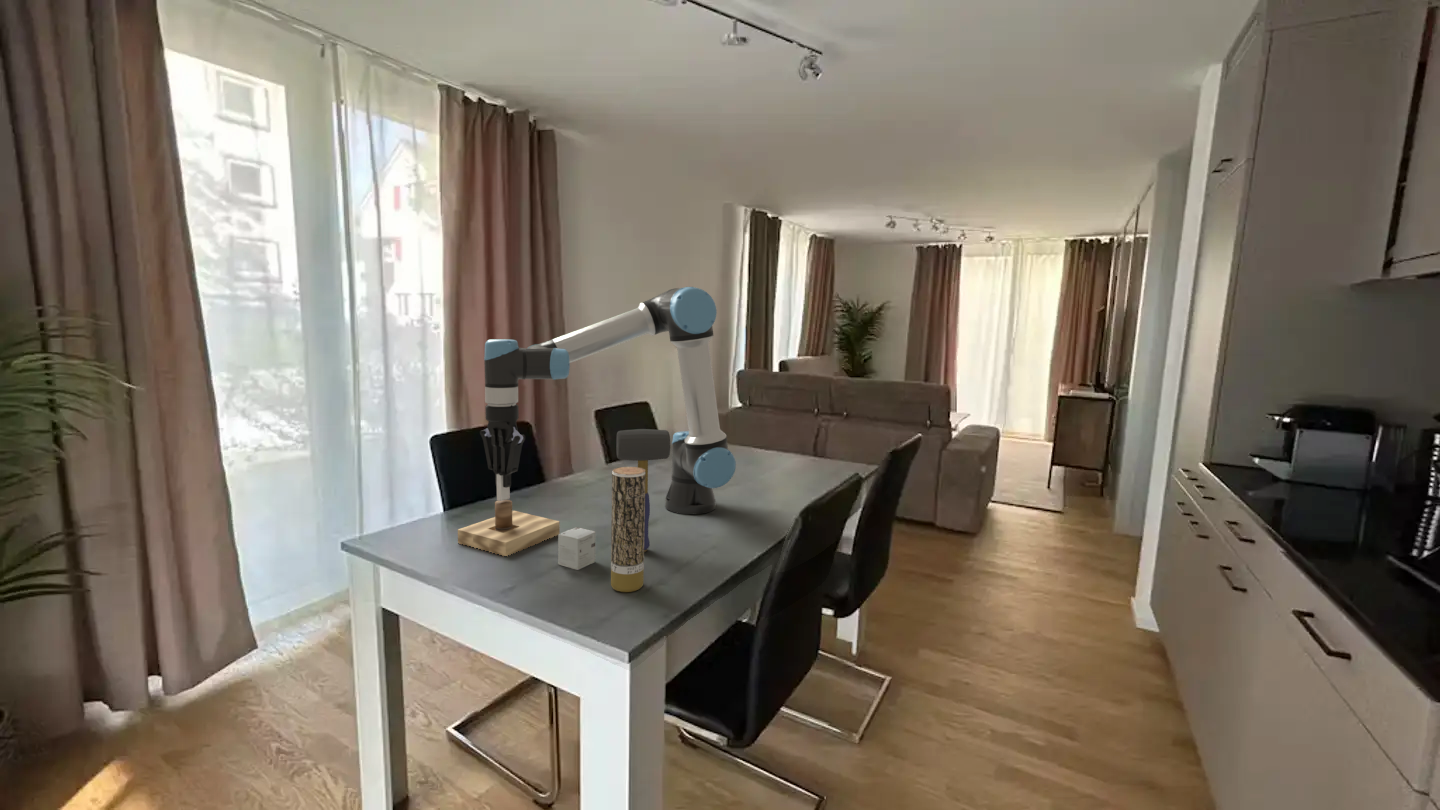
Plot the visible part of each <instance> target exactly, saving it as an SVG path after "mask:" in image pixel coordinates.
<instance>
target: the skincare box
mask: <svg viewBox="0 0 1440 810" xmlns="http://www.w3.org/2000/svg"><path fill="white" fill-rule="evenodd" d="M557 537H558V538H557V543H558V545H557V548H558V549H557V559H558V560H557V561H558V562H557V564H558V565H559V566H562V567H566V568H569V569H572V570H576V571H579V570H581V569H583V568H586V567H587V566H589V565H592V564H594V563H595V562H596V531H594V530H591V529H590V530H589V529H585V528H582V527H579V526H576V527H574V528H571V529H567V530H565V531H563V532H560V534H558V535H557Z"/></svg>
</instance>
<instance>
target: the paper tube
mask: <svg viewBox="0 0 1440 810" xmlns="http://www.w3.org/2000/svg"><path fill="white" fill-rule="evenodd" d="M645 475H646V473H645V469H642V468H638V466H621V467H615V468H613V469H612V471H611V527H610V529H611V532H610V534H611V535H610V536H611V537H610V539H611V540H610V541H611V544H610V545H611V546H610V585H611V586H610V587H612V589H613V590H615V592H619V593H620V592H621V593H633V592H636V591H638V590H640V589H641V588H642V587H643V585H644V572H645V571H644V568H645V552H644V529H645Z"/></svg>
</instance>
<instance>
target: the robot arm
mask: <svg viewBox="0 0 1440 810" xmlns="http://www.w3.org/2000/svg"><path fill="white" fill-rule="evenodd" d="M717 311H718V310H717V306H716V303H715V300H714V299H713V297H712V295H710V294H709V293H708V292H707V291H706V290H704V289H702V288H698V287H694V286H685V287H680V288H679V287H677V288H671V289H668V290H666V291H664V292H662V293H660V294H658V295H656V296H654V297H652V298H649V299H647V300H645V301H641V302H640V303H639V304H638V306H637V308H634V309H631V310H628V311H626V312H623V313H620V314H618V315H615V316H612V317H610V318H606V319H604V320H601V321H598V322H595V323H593V324H590V325H588V326H585V327H581V328H579V329H576V330H574V331H571V332H569V333H566V334H562V335H560V336H558V337H555V338H552V339H550V340H547V341H544V342H541V343H535V344H532V345H530V346H528V347H527V348H525V347H519V343H518V341H517V340H516V339H507V338H506V339H504V338H503V339H500V338H499V339H498V338H497V339H495V338H494V339H493V338H492V339H488V340H486V341H485V343H484V355H483V356H484V358H483V360H484V361H483V363H484V364H483V365H484V385H485V386H484V403H485V404H486V406H485V410H484V411H485V412H484V413H485V420H486V421H487V422H488V423H487V425H486V428H485V429H483V430H480V431H479V435H480V436H481V439H482V441H483V447H484V453H485V457H486V462H487V463H486V464H487V469H488V470H491V471H493V473H494V479H495V480H494V481H495V486H496V501H504V500H510V497H511V493H510V492H511V491H510V488H511V486H512V474H513V473H515V472H518V470H519V466H520V465H519V464H520V459H521V454H522V450H523V449H522V448H523V443H524V442H525V441H526V435H525V434H520V432H519V431H518V426H517V421H518V420H519V414H520V413H519V405H518V404H517V403H519V380H553V381H556V380H564V379H567V378H568V377H569V375H570V367H571V365H570V363H573V362H577V361H578V360H582V359H584V358H588V357H589V356H592V355H594V354H595V355H596V354H598V353H600V352H602V351H603V352H604V351H606V350H607V349H611V348H614V347H616V346H619V345H621V344H624V343H627V342H629V341H632V340H635V339H637V338H639V337H642V336H645V335H650V336H655V335H657V334H661V333H666V332H668V334H669V341H670V343H671V344H672V345H673V346H675V347H676V350H677V351H676V352H677V357H678V358H677V359H678V364H679V372H680V378H681V379H680V380H681V387H682V393H683V400H684V401H683V402H684V408H685V414H686V423H687V429H688V430H687V431H686V430H685V431H677V432H675V433H673V435H672V441H671V446H672V447H671V481H670V485H669V487H668V490H667V493H666V496H665V500H664V501H665V502H664V507H665V509H666V510H668V511H670V512H672V513H677V514H684V515H702V514H707V513H710V512H713V511H714V510H715V509H716V505H717V504H716V503H717V501H716V497H715V494H714V493H715V492H714V489H717V488H721V487H723V486H724V485H726V484H728V483H729V482H730V481H731V479H732V478H733V476H734V475H735V472H736V468H737V467H736V466H737V463H736V462H737V461H736V458H735V456H734V454H733V453H732V451H731V450H729V445H728V438H727V437H728V436H727V434H726V433H725V432H724V431H723V430H722V429H721V427H720V420H719V411H718V403H717V402H718V401H717V396H716V387H715V381H714V374H713V367H712V366H713V365H712V356H711V351H710V342H711V341H712V339H713V338H714V328H713V325H714V324H715V321H716V319H717V314H718V312H717Z"/></svg>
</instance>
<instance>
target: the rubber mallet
mask: <svg viewBox="0 0 1440 810" xmlns="http://www.w3.org/2000/svg"><path fill="white" fill-rule="evenodd" d="M670 435H671V434H670V432H669V430H666V429H655V428H654V429H653V428H652V429H650V428H647V429H646V428H637V429H625V430H618V431H617V432H616V439H615V440H616V442H615V444H616V447H615V448H616V449H615V450H616V458H617V459H618V460H621V461H637V467H638V468H642V469H645V473H646V475H645V529H644V553H646V552H648V549H649V548H650V545H651V544H650V538H649V522H650V521H649V520H650V513H651V512H650V511H651V503H650V495H649V489H648V487H649V484H648V483H649V481H648V480H649V461H657V460H665V459H666V460H667V459H668V458H669V457H670V454H671V436H670Z"/></svg>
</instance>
